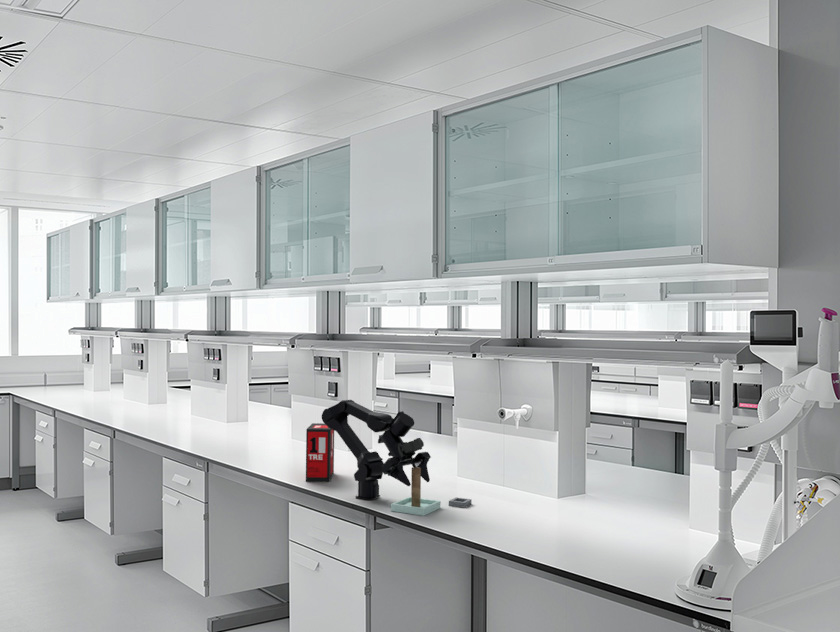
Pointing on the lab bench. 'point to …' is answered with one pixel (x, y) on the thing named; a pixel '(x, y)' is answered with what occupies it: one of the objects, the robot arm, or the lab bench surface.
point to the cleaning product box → (319, 453)
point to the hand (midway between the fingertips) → (419, 483)
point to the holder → (460, 502)
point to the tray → (406, 507)
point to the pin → (416, 487)
